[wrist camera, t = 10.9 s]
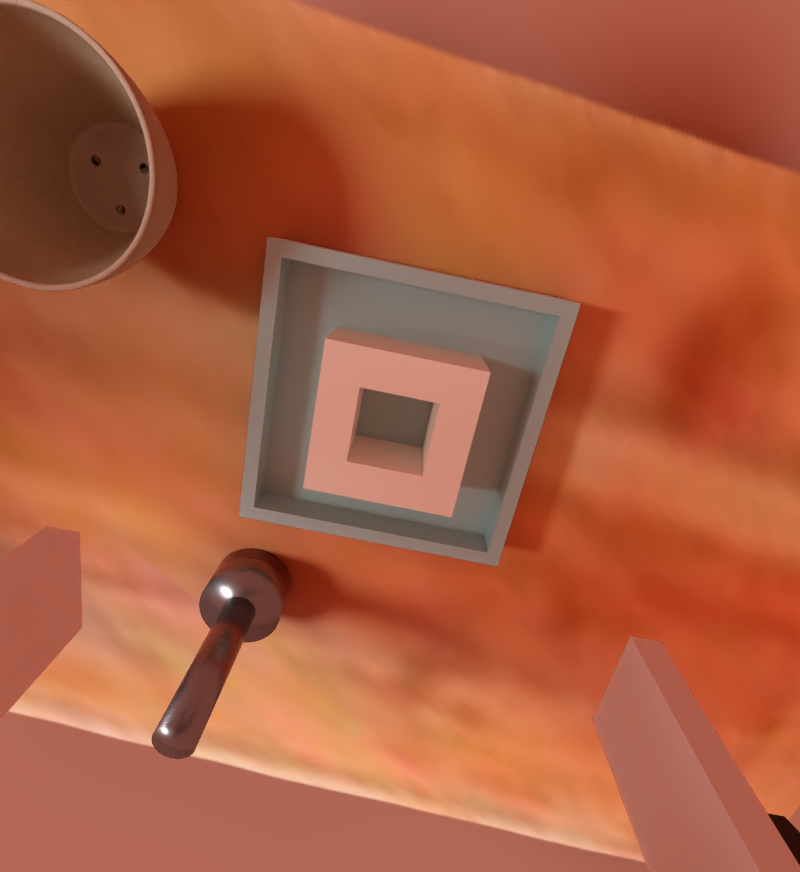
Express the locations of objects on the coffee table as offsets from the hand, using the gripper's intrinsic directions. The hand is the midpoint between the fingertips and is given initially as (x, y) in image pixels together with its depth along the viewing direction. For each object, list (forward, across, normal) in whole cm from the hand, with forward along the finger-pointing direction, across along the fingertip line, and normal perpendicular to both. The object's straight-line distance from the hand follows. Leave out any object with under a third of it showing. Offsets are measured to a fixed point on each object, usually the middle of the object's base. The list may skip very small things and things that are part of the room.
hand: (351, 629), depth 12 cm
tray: (+19, 0, 0) cm, 19 cm away
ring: (+18, 0, 0) cm, 18 cm away
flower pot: (+19, -16, +9) cm, 26 cm away
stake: (+19, -7, -14) cm, 24 cm away
